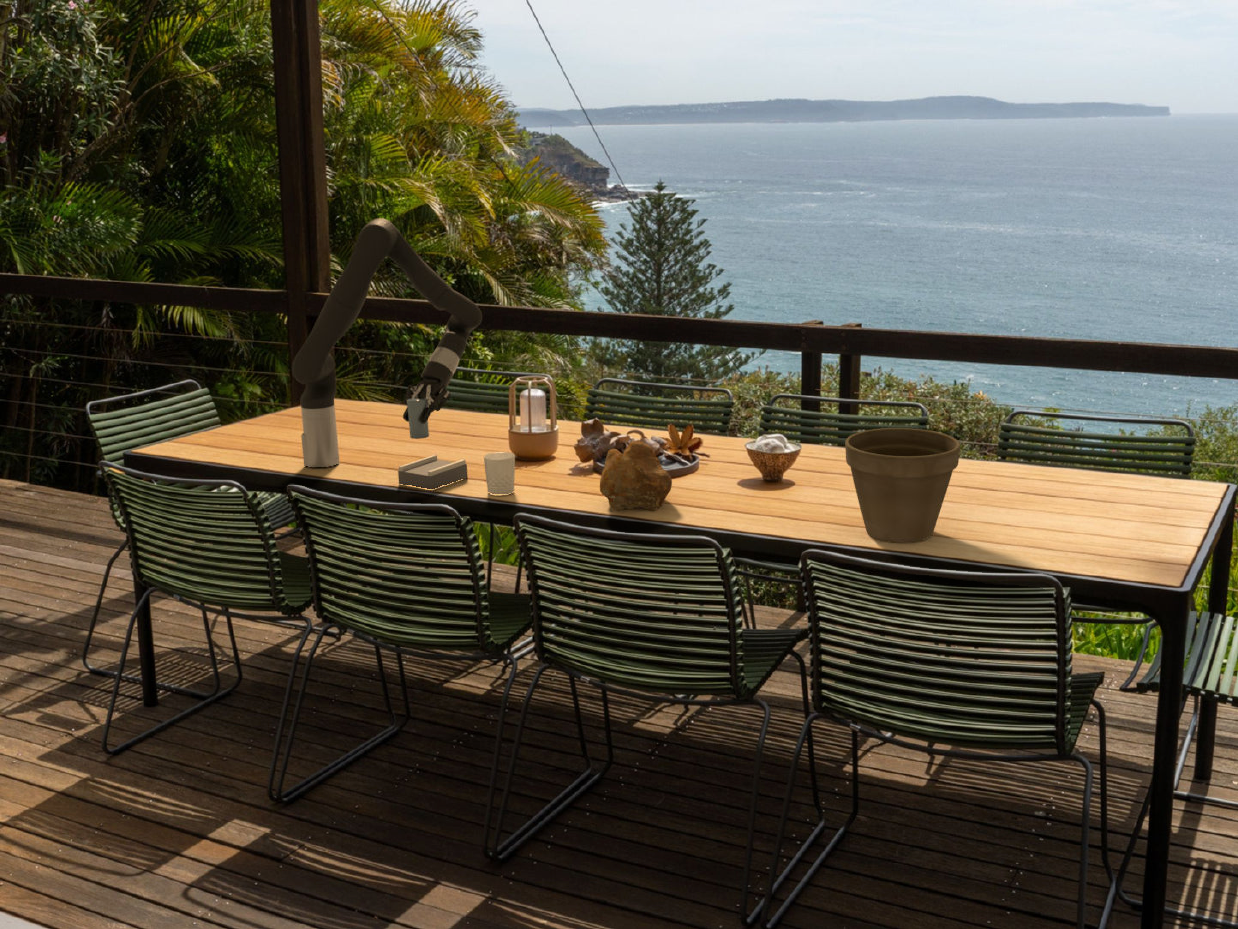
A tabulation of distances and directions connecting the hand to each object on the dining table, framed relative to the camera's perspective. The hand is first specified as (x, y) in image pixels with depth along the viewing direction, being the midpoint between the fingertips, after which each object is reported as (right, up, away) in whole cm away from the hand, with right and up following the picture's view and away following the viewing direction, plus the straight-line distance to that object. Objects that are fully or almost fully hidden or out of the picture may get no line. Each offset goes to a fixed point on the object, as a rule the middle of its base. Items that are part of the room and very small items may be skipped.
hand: (413, 420), depth 314 cm
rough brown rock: (+59, -22, -18) cm, 66 cm away
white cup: (+23, -19, -5) cm, 31 cm away
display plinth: (+4, -16, +7) cm, 18 cm away
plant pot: (+117, -27, -44) cm, 128 cm away
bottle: (+1, -4, +3) cm, 5 cm away
